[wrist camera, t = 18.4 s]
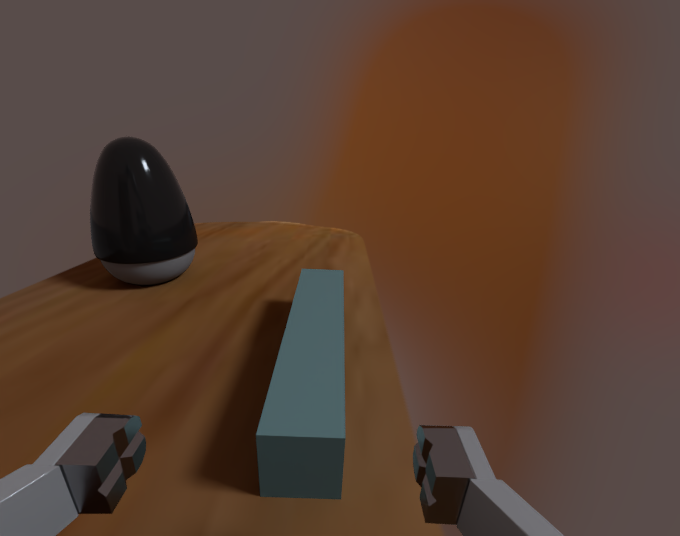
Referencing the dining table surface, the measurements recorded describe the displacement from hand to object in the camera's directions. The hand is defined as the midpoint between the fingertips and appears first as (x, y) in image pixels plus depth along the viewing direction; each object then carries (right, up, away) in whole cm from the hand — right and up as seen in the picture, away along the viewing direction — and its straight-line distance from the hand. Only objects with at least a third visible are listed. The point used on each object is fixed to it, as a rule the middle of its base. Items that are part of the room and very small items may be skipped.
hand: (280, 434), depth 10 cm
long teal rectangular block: (0, -3, +16) cm, 16 cm away
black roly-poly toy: (-20, +4, +30) cm, 36 cm away
